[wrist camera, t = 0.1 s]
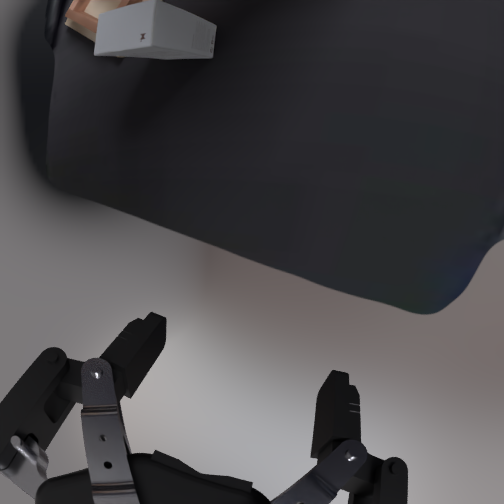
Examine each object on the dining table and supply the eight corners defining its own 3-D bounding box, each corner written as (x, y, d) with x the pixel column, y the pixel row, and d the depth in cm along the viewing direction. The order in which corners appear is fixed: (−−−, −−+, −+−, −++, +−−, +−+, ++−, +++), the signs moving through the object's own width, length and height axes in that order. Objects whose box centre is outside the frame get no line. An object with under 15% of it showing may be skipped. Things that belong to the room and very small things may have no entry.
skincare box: (218, 24, 22) (158, -3, 13) (213, 59, 25) (151, 47, 15) (168, 27, 23) (97, 12, 13) (164, 60, 26) (92, 57, 16)
